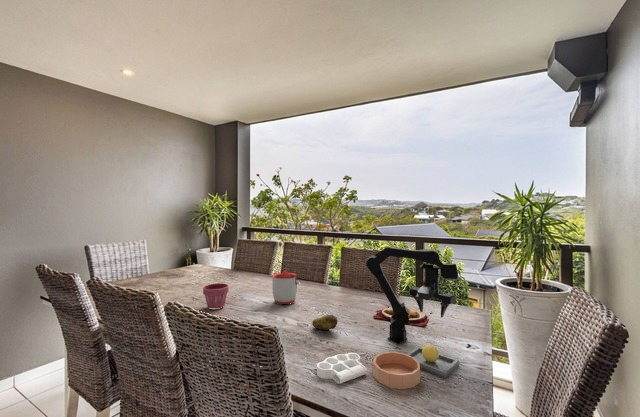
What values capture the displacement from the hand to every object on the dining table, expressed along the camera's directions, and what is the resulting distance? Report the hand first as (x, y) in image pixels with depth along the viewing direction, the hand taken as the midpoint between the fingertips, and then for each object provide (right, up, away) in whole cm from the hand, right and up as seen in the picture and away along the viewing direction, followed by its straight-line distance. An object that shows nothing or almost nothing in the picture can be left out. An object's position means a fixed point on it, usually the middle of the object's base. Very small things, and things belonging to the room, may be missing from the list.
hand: (431, 314), depth 133 cm
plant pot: (-110, -13, +47) cm, 120 cm away
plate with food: (-3, -13, +33) cm, 36 cm away
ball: (-7, -8, -18) cm, 21 cm away
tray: (-7, -12, -18) cm, 23 cm away
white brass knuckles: (-41, -13, -23) cm, 48 cm away
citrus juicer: (-69, -12, +57) cm, 90 cm away
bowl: (-22, -12, -26) cm, 36 cm away
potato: (-46, -12, +14) cm, 50 cm away
